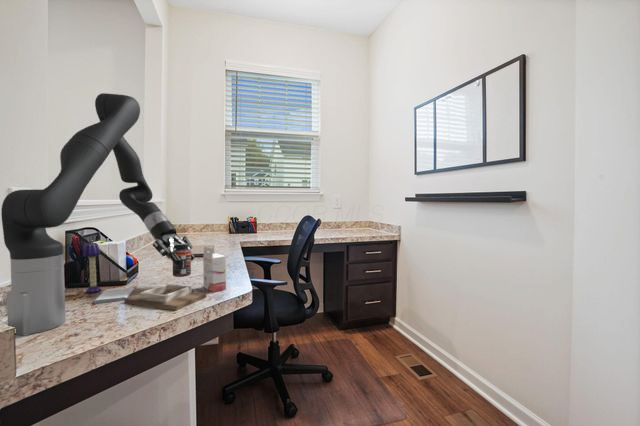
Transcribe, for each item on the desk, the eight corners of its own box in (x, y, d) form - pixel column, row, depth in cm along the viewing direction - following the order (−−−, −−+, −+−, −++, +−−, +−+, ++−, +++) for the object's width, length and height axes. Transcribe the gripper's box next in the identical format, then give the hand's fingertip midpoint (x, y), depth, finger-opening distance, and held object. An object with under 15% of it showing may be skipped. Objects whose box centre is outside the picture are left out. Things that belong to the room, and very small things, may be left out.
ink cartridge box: (226, 289, 101) (226, 247, 100) (212, 292, 97) (212, 248, 97) (216, 284, 107) (216, 244, 107) (203, 287, 104) (202, 246, 103)
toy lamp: (101, 293, 97) (99, 243, 97) (83, 295, 95) (81, 244, 94) (101, 289, 101) (100, 241, 101) (84, 291, 99) (83, 242, 98)
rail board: (176, 310, 81) (176, 299, 81) (124, 302, 88) (124, 292, 88) (206, 297, 92) (206, 287, 92) (158, 291, 99) (158, 281, 99)
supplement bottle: (188, 277, 101) (188, 244, 101) (170, 277, 100) (170, 245, 100) (193, 273, 107) (192, 242, 107) (175, 273, 106) (175, 243, 106)
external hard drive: (93, 305, 87) (105, 294, 98) (126, 302, 90) (133, 291, 101) (93, 300, 87) (105, 289, 98) (126, 296, 90) (133, 286, 101)
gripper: (148, 220, 99) (175, 257, 95) (180, 219, 113) (206, 251, 109) (136, 235, 101) (163, 272, 97) (170, 232, 115) (194, 264, 111)
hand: (185, 260), depth 103 cm, fingers closed on supplement bottle, 6 cm apart
